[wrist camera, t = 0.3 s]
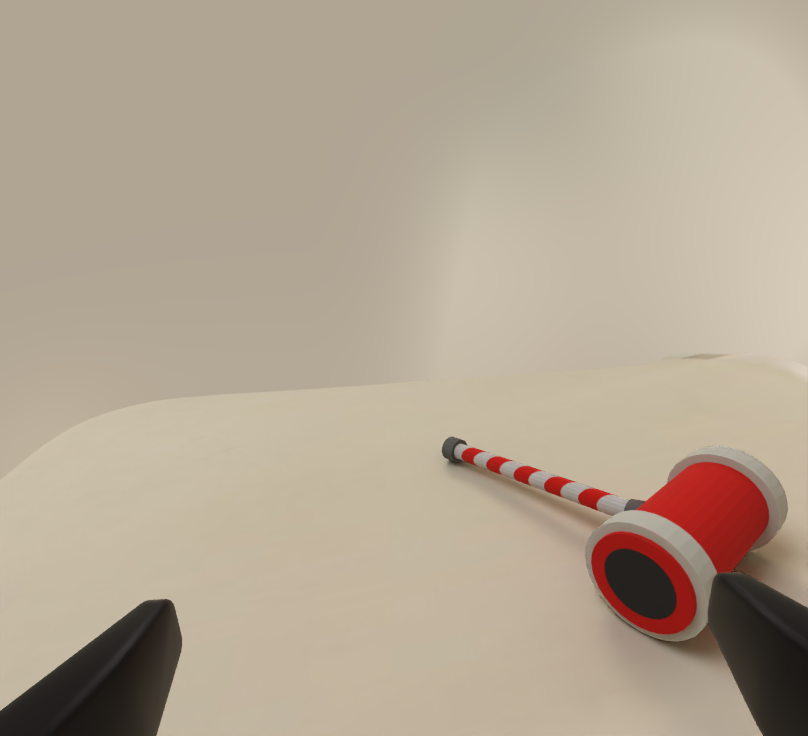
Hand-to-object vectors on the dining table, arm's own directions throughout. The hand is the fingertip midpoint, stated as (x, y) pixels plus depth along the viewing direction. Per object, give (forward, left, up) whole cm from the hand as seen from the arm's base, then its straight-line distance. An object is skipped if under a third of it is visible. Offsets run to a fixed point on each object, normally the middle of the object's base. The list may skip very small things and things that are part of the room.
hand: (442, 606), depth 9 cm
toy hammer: (+23, -11, -17) cm, 30 cm away
